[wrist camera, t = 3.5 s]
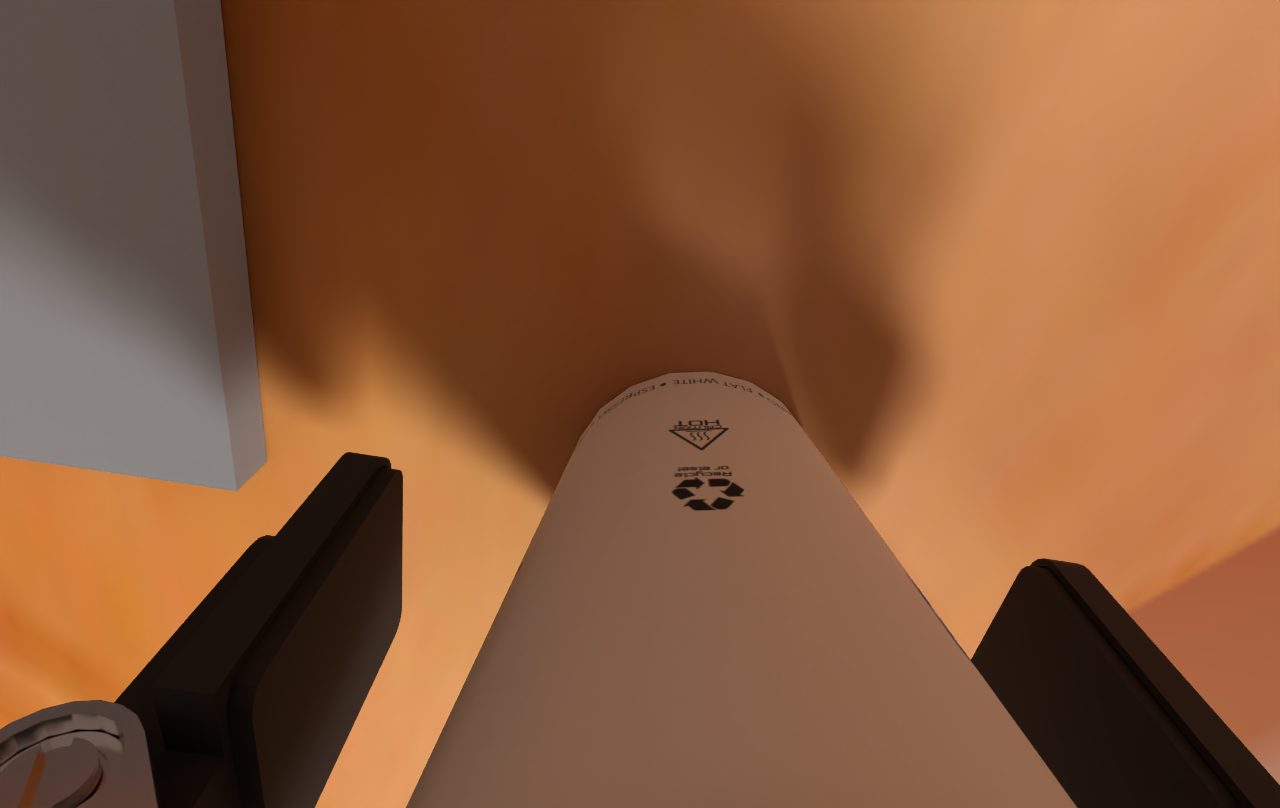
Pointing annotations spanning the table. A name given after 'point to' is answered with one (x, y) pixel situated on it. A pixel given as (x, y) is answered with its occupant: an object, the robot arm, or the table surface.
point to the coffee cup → (720, 638)
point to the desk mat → (124, 244)
